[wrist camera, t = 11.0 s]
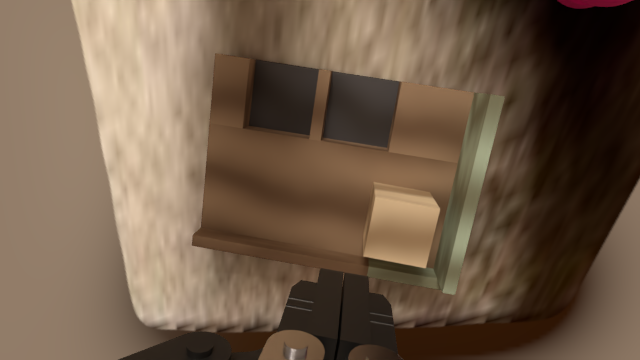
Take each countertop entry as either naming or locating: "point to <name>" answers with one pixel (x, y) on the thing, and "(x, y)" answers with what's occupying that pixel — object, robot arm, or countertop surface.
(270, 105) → the box
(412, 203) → the maple block
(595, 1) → the pepper mill
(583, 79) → the countertop surface
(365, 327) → the robot arm
